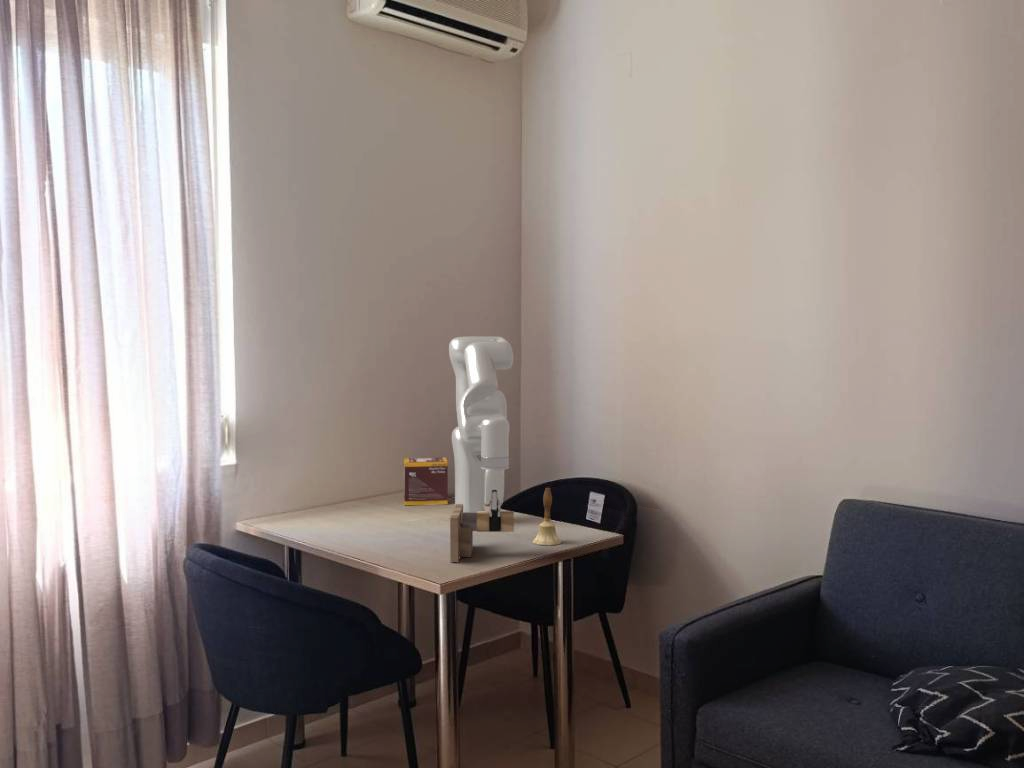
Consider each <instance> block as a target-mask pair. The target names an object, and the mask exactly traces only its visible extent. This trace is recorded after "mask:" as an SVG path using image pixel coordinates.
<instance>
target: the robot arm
mask: <svg viewBox="0 0 1024 768" xmlns="http://www.w3.org/2000/svg"><path fill="white" fill-rule="evenodd" d="M448 355H449V359H450V363H451V366H452V369H453V372H454V375H455V409H456V417H457V426H456V427H455V428H454V429H453V430H452V432H451V444H452V445H451V446H452V450H453V451H452V452H453V457H454V458H453V459H454V507H455V506H456V504H463V512H477V511H486V506H488V505H489V511H490V516H489V531H501V516H500V511H502V508H501V506H502V505H503V502H504V494H505V470H507V469H509V468H510V467H509V466H510V465H509V463H510V459H509V457H510V455H509V454H510V453H509V450H510V449H509V448H510V447H509V440H510V439H509V435H510V421H509V420H508V416H507V415H508V405H507V399H506V396H505V394H504V393H503V391H501V390H499V389H498V386H499V384H498V383H499V382H498V378H497V371H499V370H502V371H503V370H505V371H506V370H509V369H511V368H512V367H513V364H514V352H513V347H512V346H511V344H510V342H508V340H506V339H505V338H504V337H502V336H493V335H492V336H488V335H487V336H485V335H484V336H481V335H479V336H477V335H475V336H474V335H473V336H469V335H468V336H459V337H454V338H452V339H451V340H450V342H449V345H448ZM496 370H497V371H496ZM479 455H480V457H481V458H480V460H479V458H478V457H477V456H479Z"/></svg>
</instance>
